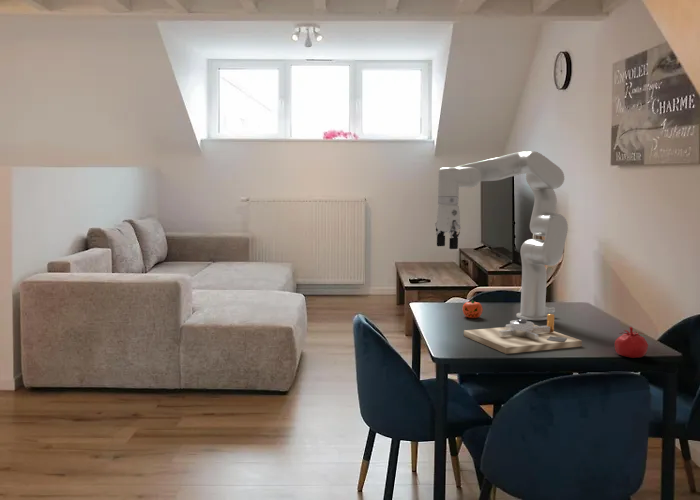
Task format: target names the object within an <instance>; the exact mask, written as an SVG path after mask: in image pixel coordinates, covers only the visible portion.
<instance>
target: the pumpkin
mask: <svg viewBox="0 0 700 500" xmlns="http://www.w3.org/2000/svg"><path fill="white" fill-rule="evenodd" d="M483 309H484V308H483V305H482V304H481V303H480V302H476V301H474V300H473V299H472V300H471V301H466V302H465V303H464V304H463V305H462V313H463V315H464V316H465V317H466V318H468V319H477V318H480V317H481V315H482V313H483Z"/></svg>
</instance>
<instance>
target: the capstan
mask: <svg viewBox="0 0 700 500" xmlns="http://www.w3.org/2000/svg"><path fill="white" fill-rule="evenodd" d="M534 325H535V322H534V321H532V320H526V319H520V318H517V319H515V320H510V321H509V323H508V324H505V327H506V329H507V330H502V331H499V335H500V336H510V335H514V336H521V337H529V338H532V339H534V340H536V339H538V334H535V333H546V332H554V330H555V314H554V313H547V320H546V325H537V326H535V327H534Z"/></svg>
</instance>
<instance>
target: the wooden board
mask: <svg viewBox="0 0 700 500" xmlns="http://www.w3.org/2000/svg"><path fill="white" fill-rule="evenodd" d="M535 326H538V325H537V324H534V327H535ZM502 330H507V329H506V326H504V327H503V326H502V327H500V326H499V327H491V328H490V327H488V328H479V329H467V330H466V329H464V330H463V337H465V338H468V339H470V340H472V341H475V342H477V343H479V344H482V345H484V346H487V347H489V348H490V349H491V348H492V349H493V350H496V351H498V352H501V353H502V354H506V355H507V354H519V353H526V352H528V353H529V352H538V351H539V352H540V351H548V350H557V349H569V348H579V347H582V346H583V344H582V343H583V340H582V339H578V338H575V337H572V336H569V335H567V334H563V333H560V332H557V331H554V332H546V333H535V334H538V339H536V340H534V339H532V338H529V337H521V336H514V335H510V336H500V335H499V331H502Z"/></svg>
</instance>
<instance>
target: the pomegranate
mask: <svg viewBox="0 0 700 500" xmlns="http://www.w3.org/2000/svg"><path fill="white" fill-rule="evenodd" d="M633 330H634V328H633V327H632V326H630V327H629V330H625V329H624V332H619V334H620V335H619V336H618V337H617V338H616V339H615V341H614V350H615V352H616V354H617V355H619V356H622V357H626V358H631V359H636V358H638V359H639V358H643V357H644V356H646V354H647V352H648V348H649V343H648V342H647V340H646V339H645V337H644V336H642V335H640V333H639V332H637V331H636V330H635V331H633ZM621 334H622V335H621ZM641 334H643V335H644V333H643V332H641Z"/></svg>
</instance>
